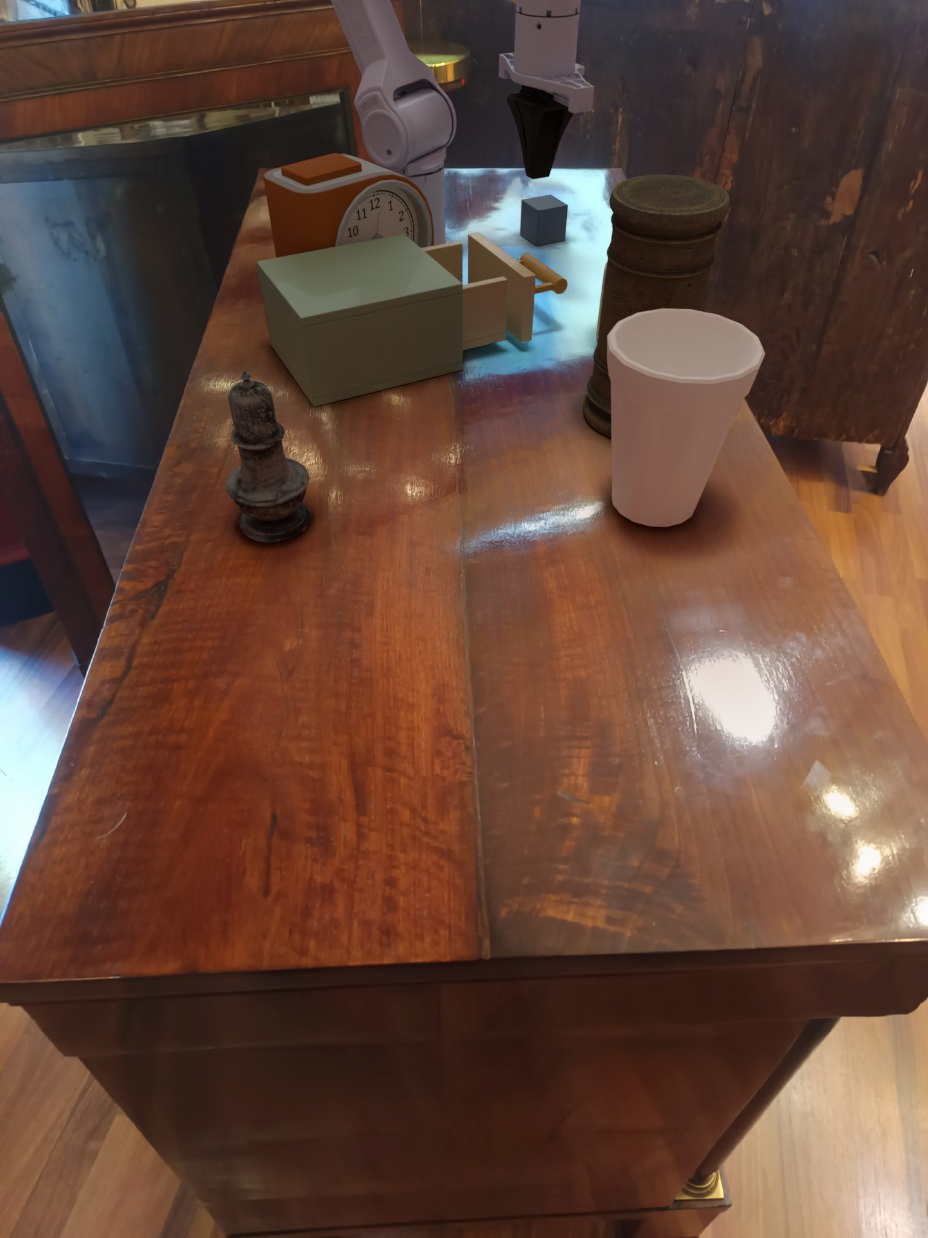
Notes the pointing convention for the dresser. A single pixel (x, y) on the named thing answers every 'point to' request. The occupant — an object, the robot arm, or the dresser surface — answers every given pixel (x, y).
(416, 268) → the cabinet
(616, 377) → the cup
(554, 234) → the block
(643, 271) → the container
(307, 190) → the alarm clock
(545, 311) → the dresser surface
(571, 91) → the robot arm
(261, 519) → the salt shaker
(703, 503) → the dresser surface
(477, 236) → the drawer
